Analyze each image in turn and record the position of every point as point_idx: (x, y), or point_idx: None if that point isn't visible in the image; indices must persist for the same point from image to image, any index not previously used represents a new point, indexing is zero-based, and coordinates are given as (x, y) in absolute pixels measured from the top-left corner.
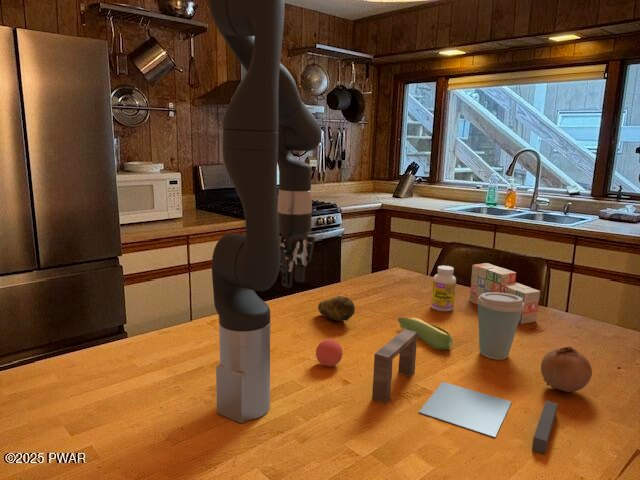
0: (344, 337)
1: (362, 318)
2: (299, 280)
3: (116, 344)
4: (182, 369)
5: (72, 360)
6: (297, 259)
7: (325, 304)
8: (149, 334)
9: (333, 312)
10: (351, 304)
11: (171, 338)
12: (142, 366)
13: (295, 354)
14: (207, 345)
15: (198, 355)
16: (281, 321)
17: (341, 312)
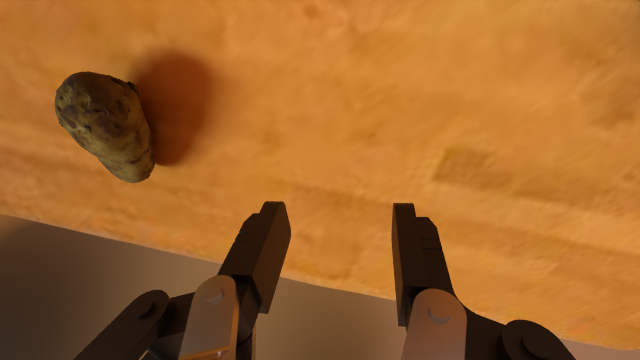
0: (179, 37)
1: (64, 75)
2: (284, 220)
3: (491, 317)
4: (542, 212)
5: (569, 325)
6: (239, 355)
7: (138, 156)
8: None
9: (141, 119)
10: (69, 85)
11: None
12: (555, 261)
13: (351, 78)
14: None
15: (470, 224)
16: (244, 202)
17: (123, 94)
